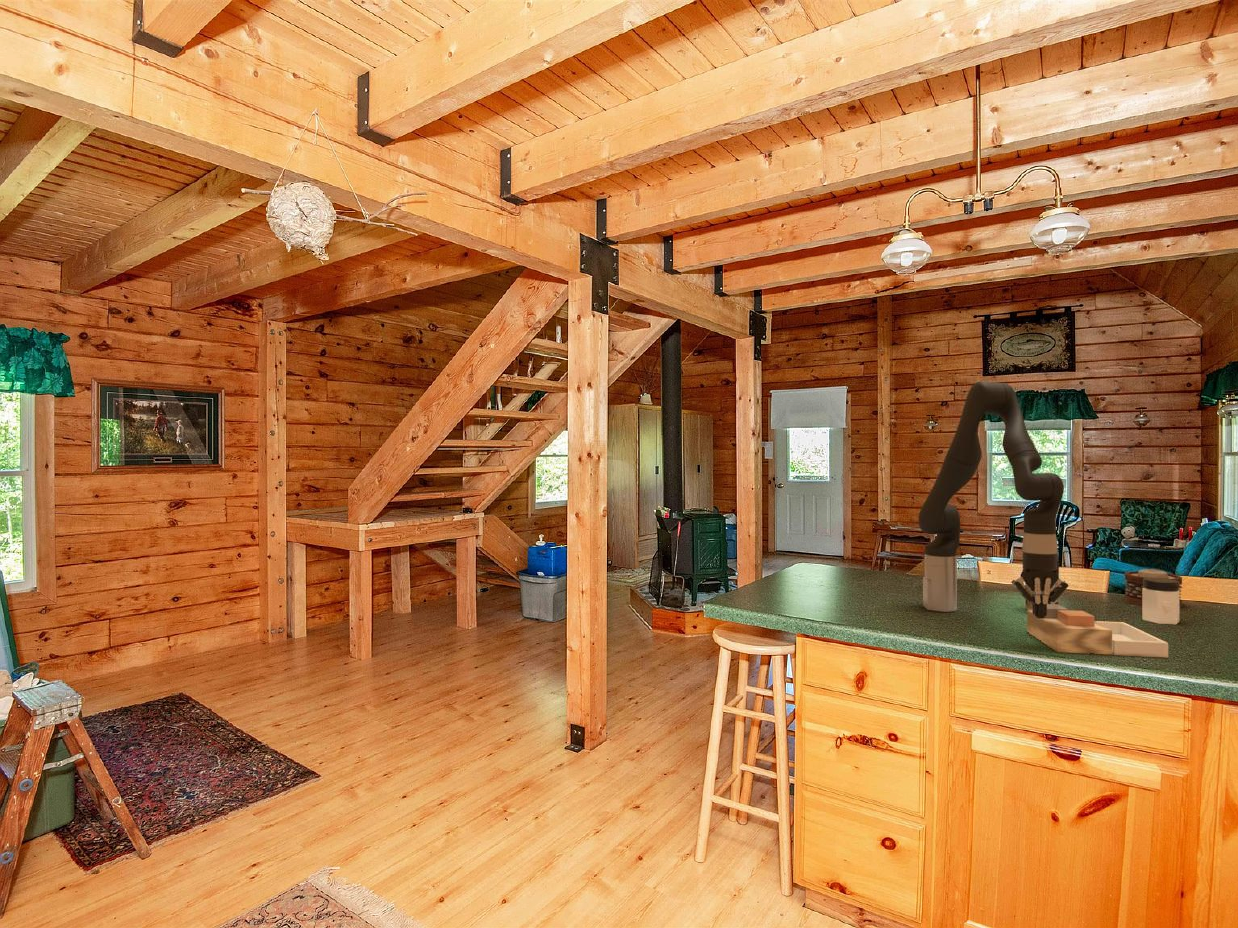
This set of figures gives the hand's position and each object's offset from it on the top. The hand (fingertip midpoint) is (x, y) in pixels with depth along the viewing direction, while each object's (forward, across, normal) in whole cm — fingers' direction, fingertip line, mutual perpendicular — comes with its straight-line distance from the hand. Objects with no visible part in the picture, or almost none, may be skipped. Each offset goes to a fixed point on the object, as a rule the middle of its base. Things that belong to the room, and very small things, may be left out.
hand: (1039, 617), depth 171 cm
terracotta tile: (+1, +8, 0) cm, 8 cm away
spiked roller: (+7, +54, +56) cm, 78 cm away
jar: (+7, +44, +32) cm, 55 cm away
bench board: (+7, +8, +4) cm, 11 cm away
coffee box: (+7, +15, +38) cm, 41 cm away
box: (+7, +20, +4) cm, 21 cm away
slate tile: (+1, +5, +7) cm, 9 cm away
